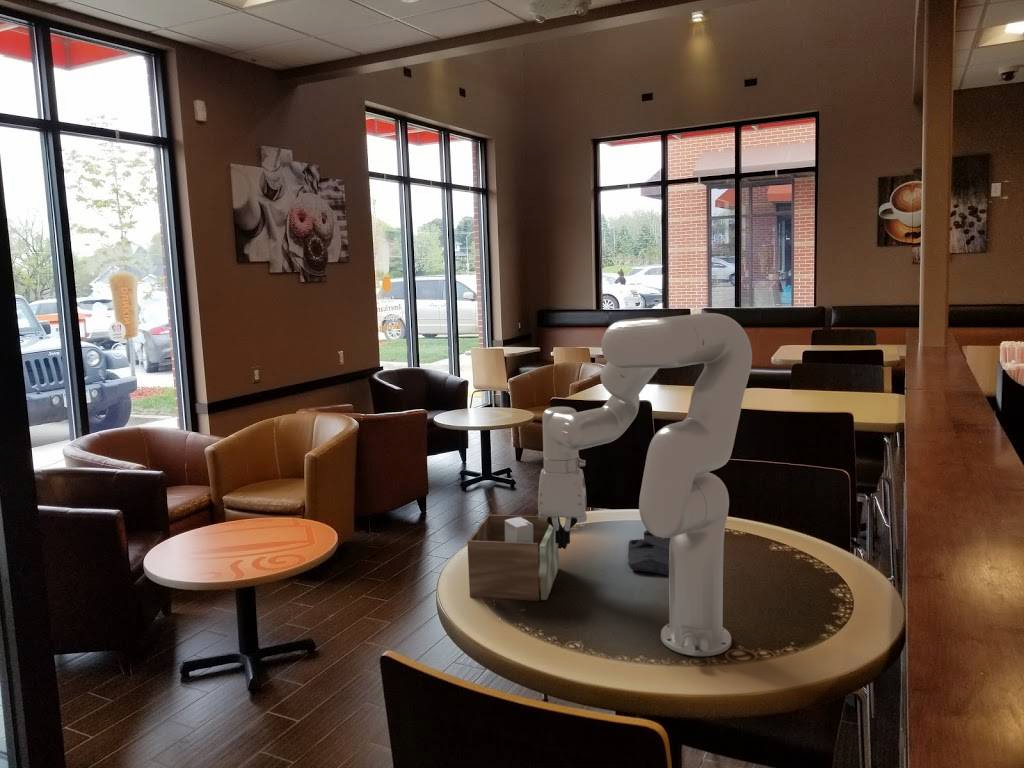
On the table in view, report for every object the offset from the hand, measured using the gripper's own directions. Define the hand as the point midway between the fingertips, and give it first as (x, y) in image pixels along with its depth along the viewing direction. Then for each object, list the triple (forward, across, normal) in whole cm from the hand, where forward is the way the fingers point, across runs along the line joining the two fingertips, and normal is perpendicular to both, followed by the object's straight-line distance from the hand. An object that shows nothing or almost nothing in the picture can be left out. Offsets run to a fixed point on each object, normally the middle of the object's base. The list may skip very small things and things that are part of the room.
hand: (562, 546), depth 166 cm
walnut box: (+9, +11, 0) cm, 14 cm away
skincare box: (+7, +10, 0) cm, 12 cm away
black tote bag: (+9, -20, -18) cm, 28 cm away
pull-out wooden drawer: (+8, +10, 0) cm, 13 cm away
